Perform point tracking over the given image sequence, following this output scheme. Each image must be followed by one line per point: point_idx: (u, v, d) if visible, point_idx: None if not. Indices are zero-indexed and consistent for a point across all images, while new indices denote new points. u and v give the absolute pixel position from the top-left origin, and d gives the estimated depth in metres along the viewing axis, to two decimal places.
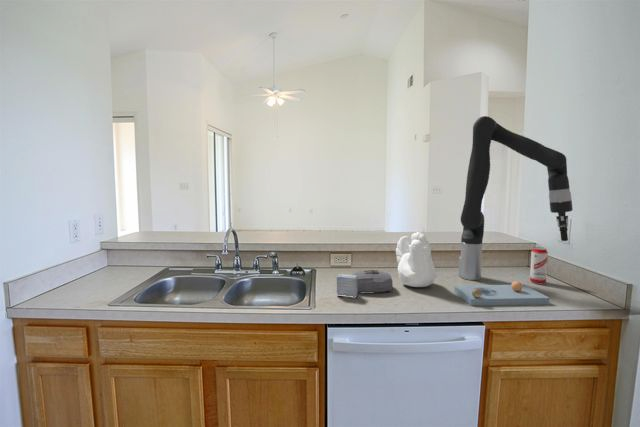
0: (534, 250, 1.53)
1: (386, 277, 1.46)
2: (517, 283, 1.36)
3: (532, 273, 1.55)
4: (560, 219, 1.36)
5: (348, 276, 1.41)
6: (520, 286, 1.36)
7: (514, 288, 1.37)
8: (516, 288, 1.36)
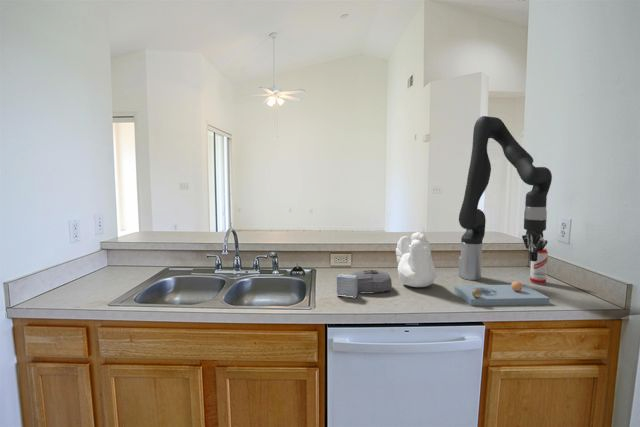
0: None
1: (385, 277, 1.47)
2: (517, 283, 1.36)
3: (532, 273, 1.55)
4: (541, 244, 1.30)
5: (348, 276, 1.41)
6: (520, 286, 1.36)
7: (514, 288, 1.37)
8: (516, 288, 1.36)
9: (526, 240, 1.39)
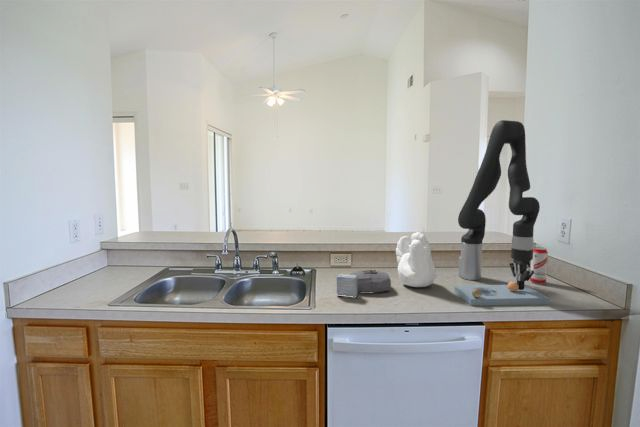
0: (534, 250, 1.53)
1: (384, 277, 1.46)
2: (511, 285, 1.36)
3: None
4: (528, 274, 1.31)
5: (348, 276, 1.41)
6: (515, 286, 1.36)
7: (512, 290, 1.37)
8: (513, 290, 1.36)
9: (513, 268, 1.41)
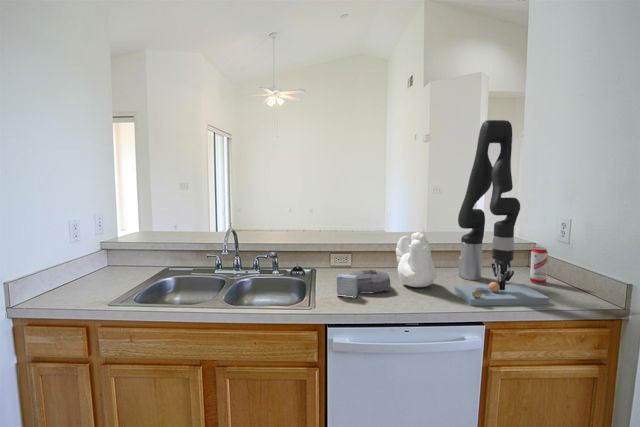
0: (534, 250, 1.53)
1: (384, 277, 1.46)
2: (498, 289, 1.36)
3: (532, 273, 1.55)
4: (508, 274, 1.31)
5: (348, 276, 1.41)
6: (496, 289, 1.36)
7: (497, 284, 1.36)
8: (497, 285, 1.36)
9: (495, 268, 1.41)
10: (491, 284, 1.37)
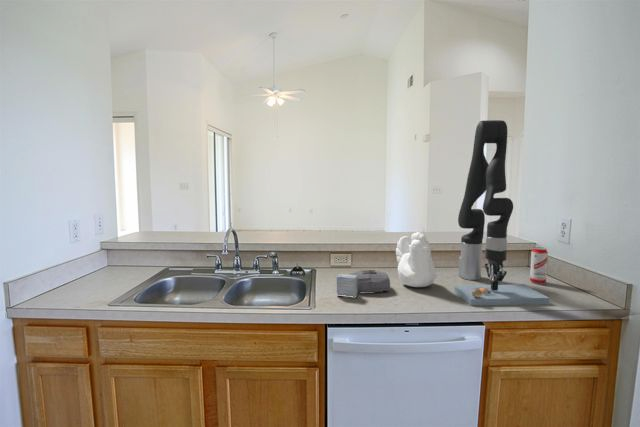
0: (534, 250, 1.53)
1: (383, 277, 1.46)
2: (480, 289, 1.37)
3: (532, 273, 1.55)
4: (500, 275, 1.31)
5: (348, 276, 1.41)
6: (484, 291, 1.36)
7: None
8: None
9: (488, 269, 1.41)
10: None
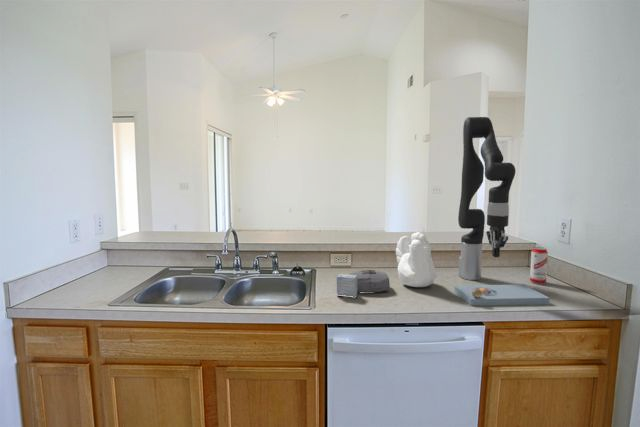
0: (534, 250, 1.53)
1: (383, 277, 1.47)
2: (481, 289, 1.37)
3: (532, 273, 1.55)
4: (502, 240, 1.30)
5: (348, 276, 1.41)
6: (484, 291, 1.36)
7: None
8: None
9: (490, 236, 1.39)
10: None
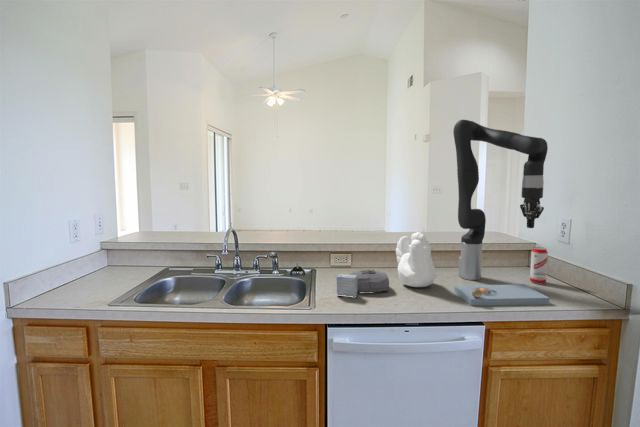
0: (534, 250, 1.53)
1: (383, 277, 1.47)
2: (481, 289, 1.37)
3: (532, 273, 1.55)
4: (538, 210, 1.36)
5: (348, 276, 1.41)
6: (484, 291, 1.36)
7: None
8: None
9: (524, 209, 1.46)
10: None
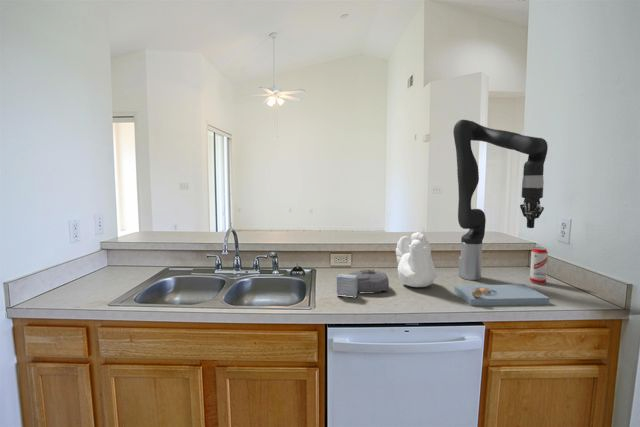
0: (534, 250, 1.53)
1: (382, 277, 1.47)
2: (481, 289, 1.37)
3: (532, 273, 1.55)
4: (538, 210, 1.36)
5: (348, 276, 1.41)
6: (484, 291, 1.36)
7: None
8: None
9: (524, 209, 1.46)
10: None
